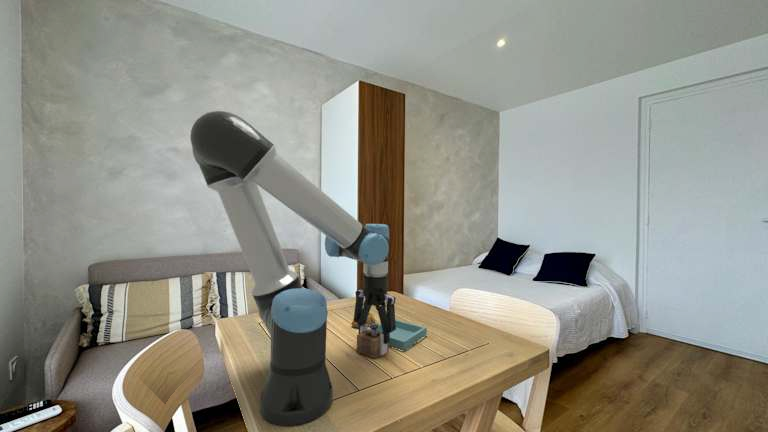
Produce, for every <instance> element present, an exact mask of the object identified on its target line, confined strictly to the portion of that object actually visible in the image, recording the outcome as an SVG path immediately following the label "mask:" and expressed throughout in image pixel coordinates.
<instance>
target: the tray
mask: <svg viewBox="0 0 768 432" xmlns="http://www.w3.org/2000/svg"><path fill="white" fill-rule="evenodd" d="M395 323H396V330H394V331H393V332H391V333H390V340H389V346H390V347H389V348H391V347H393V348H392V349H394V348H397V349H400V350H403V351H405V350H406V349H407V348H409V347H410V346H411V345H413V344H414V343H415V342H417V341H418V340H419V339H421V338H422V337H424V336H425V335H426V334H427V333H428V332H427V329H428V328H427V327H425V326H421V325H418V324H415V323H414V324H413V323H410V322H406V321H403V320H399V319H396V318H395ZM378 324H379V327H378V328H377V330H379V331H382V332H383V330H382V326H381V322H379V323H378ZM369 329H371V328H370V327H369V328H368V329H367V330H369ZM427 335H428V334H427ZM413 346H414V345H413ZM410 348H411V347H410ZM410 348H409V349H410ZM397 349H396V350H397ZM400 350H399V351H400ZM403 351H402V352H403ZM406 351H407V350H406ZM406 351H405V352H406Z"/></svg>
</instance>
